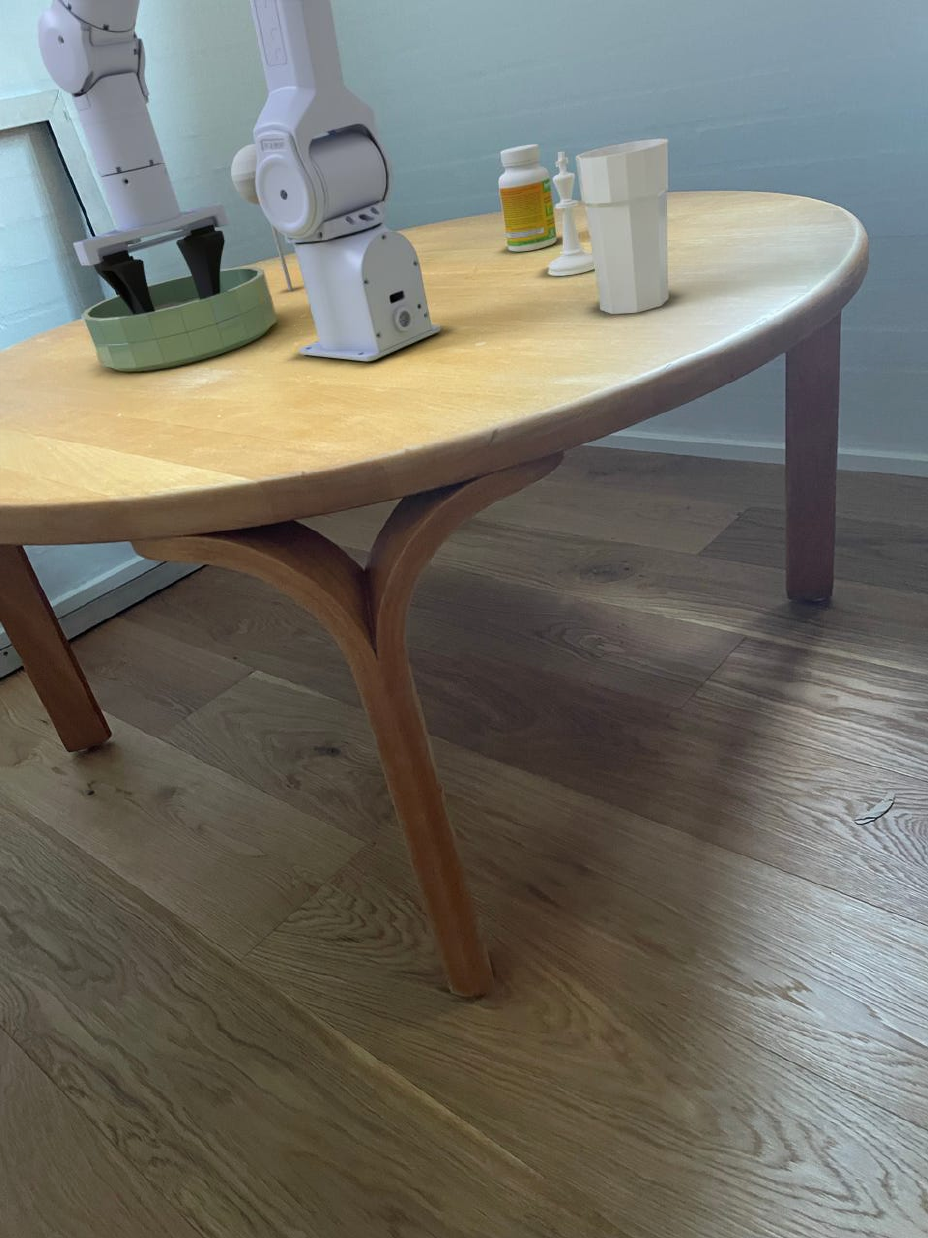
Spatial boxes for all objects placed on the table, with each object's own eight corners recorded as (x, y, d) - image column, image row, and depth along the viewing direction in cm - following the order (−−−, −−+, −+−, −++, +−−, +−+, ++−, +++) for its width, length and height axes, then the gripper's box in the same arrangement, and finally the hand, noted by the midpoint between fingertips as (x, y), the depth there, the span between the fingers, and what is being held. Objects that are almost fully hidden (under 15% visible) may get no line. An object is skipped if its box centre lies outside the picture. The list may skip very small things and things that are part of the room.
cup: (640, 319, 67) (626, 154, 62) (574, 314, 72) (556, 161, 66) (695, 293, 71) (687, 135, 65) (629, 290, 75) (616, 142, 70)
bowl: (312, 320, 88) (298, 266, 85) (156, 381, 78) (135, 323, 76) (219, 314, 99) (204, 266, 96) (73, 367, 90) (52, 315, 87)
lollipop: (305, 293, 100) (265, 142, 93) (257, 300, 102) (213, 152, 94) (323, 279, 105) (287, 135, 98) (277, 286, 107) (237, 145, 99)
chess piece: (609, 260, 86) (597, 143, 81) (586, 274, 83) (573, 153, 78) (563, 263, 89) (549, 150, 84) (539, 277, 86) (523, 160, 80)
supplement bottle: (559, 245, 97) (546, 144, 92) (508, 255, 97) (493, 155, 92) (555, 237, 101) (543, 140, 96) (507, 246, 102) (493, 150, 97)
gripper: (180, 156, 87) (225, 300, 94) (37, 190, 79) (98, 345, 86) (219, 149, 83) (263, 302, 90) (71, 185, 75) (132, 350, 82)
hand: (184, 324), depth 88 cm, fingers open, 6 cm apart
